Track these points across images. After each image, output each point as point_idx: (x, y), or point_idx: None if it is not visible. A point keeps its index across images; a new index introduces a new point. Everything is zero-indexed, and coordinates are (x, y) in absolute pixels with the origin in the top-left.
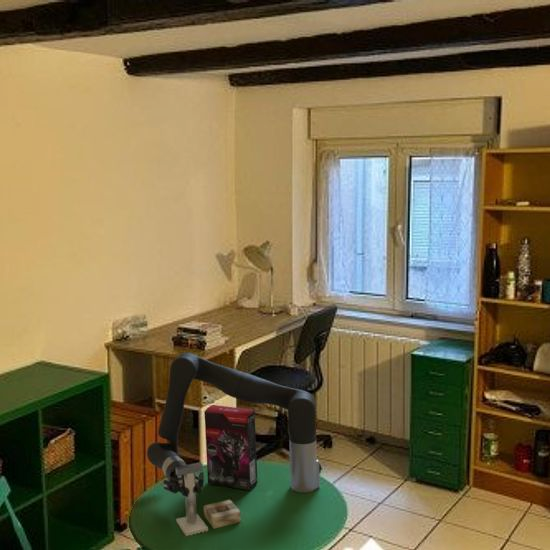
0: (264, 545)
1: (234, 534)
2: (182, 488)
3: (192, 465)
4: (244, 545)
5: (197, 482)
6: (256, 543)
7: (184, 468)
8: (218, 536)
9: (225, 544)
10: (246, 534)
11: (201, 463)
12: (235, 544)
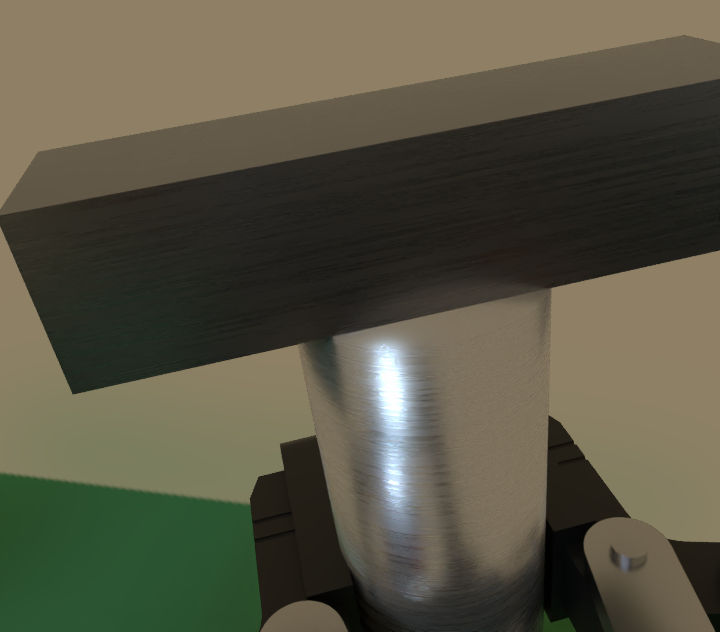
0: (19, 475)
1: (117, 623)
2: (580, 492)
3: (305, 123)
4: (124, 488)
5: (272, 624)
6: (47, 497)
7: (518, 68)
8: (245, 615)
9: (230, 512)
10: (36, 607)
11: (24, 178)
12: (170, 504)
